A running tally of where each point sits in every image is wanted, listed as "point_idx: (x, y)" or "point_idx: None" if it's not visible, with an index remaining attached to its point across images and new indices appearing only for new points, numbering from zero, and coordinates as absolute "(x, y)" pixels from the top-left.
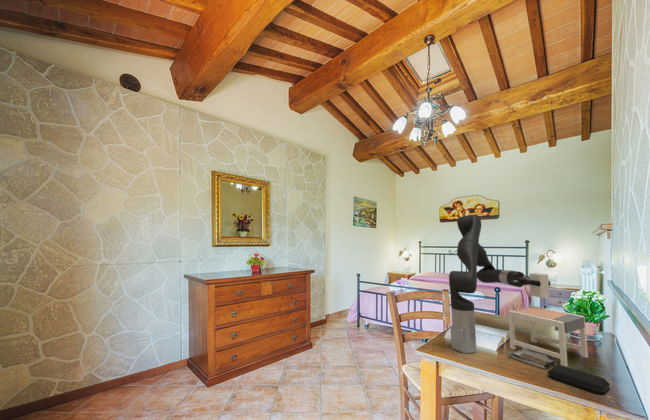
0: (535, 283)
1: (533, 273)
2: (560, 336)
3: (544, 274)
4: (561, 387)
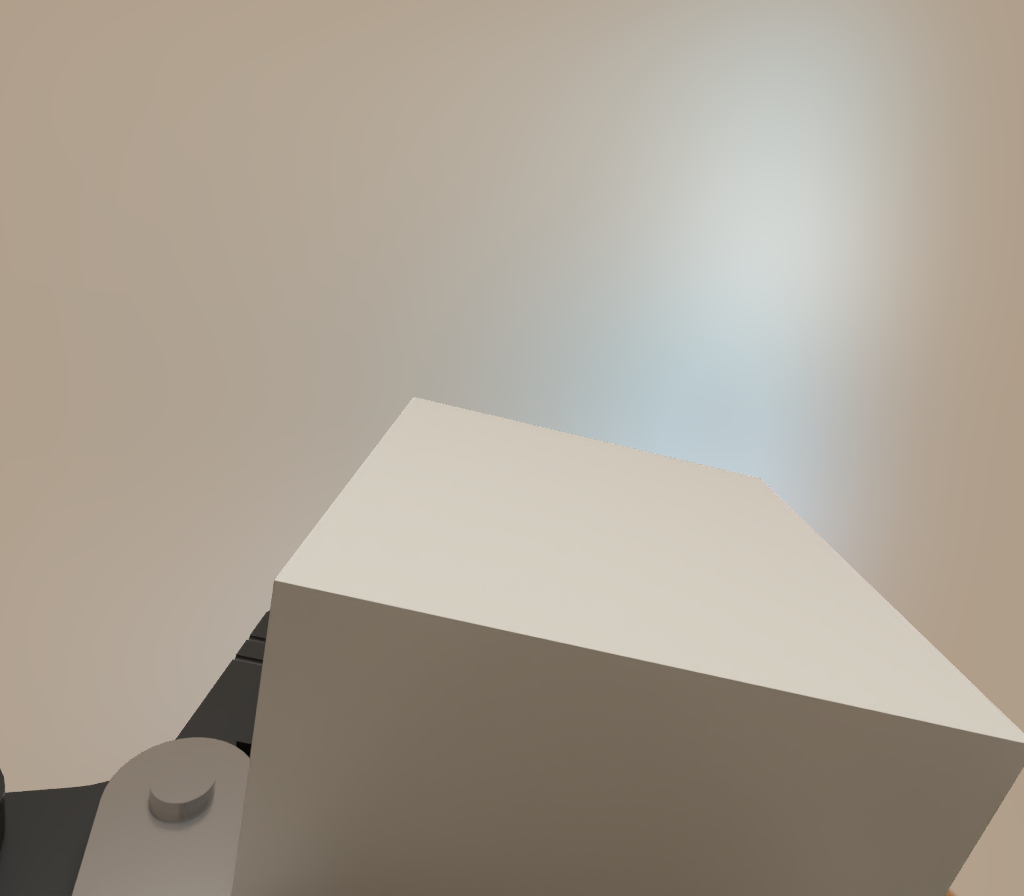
0: None
1: (737, 639)
2: None
3: (513, 432)
4: None
